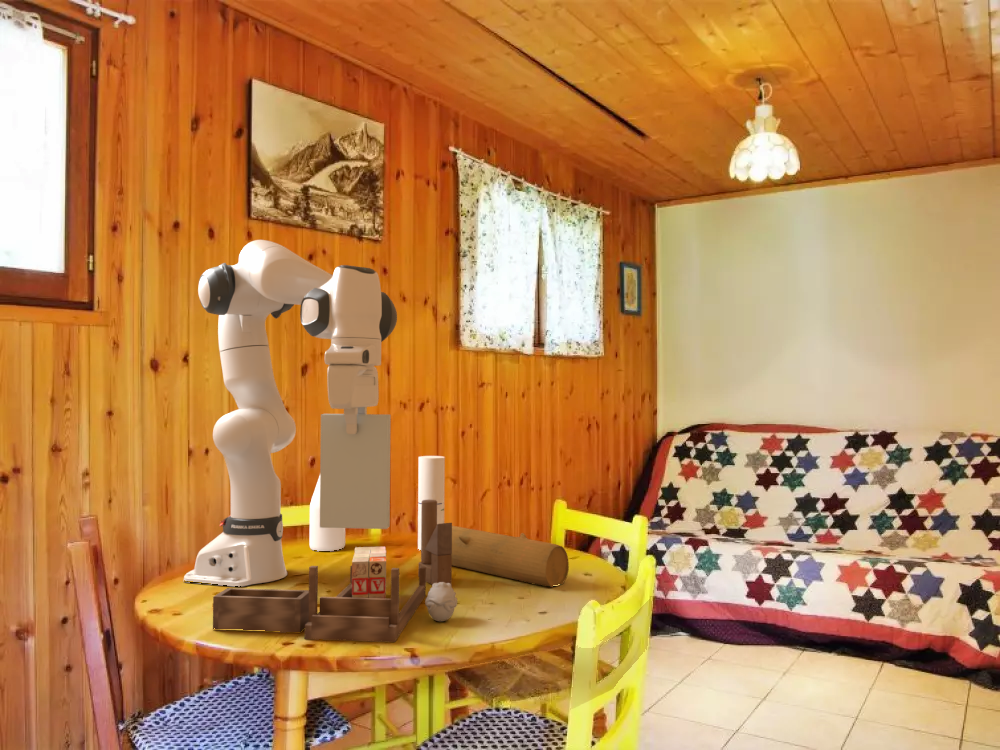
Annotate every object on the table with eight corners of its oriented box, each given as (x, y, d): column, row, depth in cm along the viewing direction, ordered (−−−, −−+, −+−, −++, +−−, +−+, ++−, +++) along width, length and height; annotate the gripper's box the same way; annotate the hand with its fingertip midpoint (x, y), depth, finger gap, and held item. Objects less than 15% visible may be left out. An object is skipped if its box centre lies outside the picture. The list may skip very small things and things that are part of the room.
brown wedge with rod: (437, 588, 168) (437, 506, 168) (417, 577, 177) (418, 499, 177) (452, 586, 169) (452, 505, 170) (432, 575, 179) (432, 498, 179)
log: (422, 564, 191) (422, 524, 192) (449, 558, 199) (449, 519, 199) (543, 592, 166) (543, 546, 166) (569, 583, 173) (569, 539, 173)
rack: (304, 639, 134) (305, 570, 134) (351, 593, 163) (352, 537, 163) (394, 642, 132) (395, 572, 132) (425, 595, 162) (426, 538, 162)
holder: (212, 630, 138) (213, 596, 138) (227, 620, 144) (227, 588, 144) (300, 632, 137) (300, 599, 137) (311, 622, 143) (311, 590, 143)
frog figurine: (458, 615, 148) (458, 578, 148) (455, 626, 141) (455, 588, 141) (427, 614, 148) (427, 578, 148) (422, 625, 141) (423, 588, 141)
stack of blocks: (356, 596, 162) (356, 537, 162) (386, 595, 162) (386, 537, 163) (351, 627, 140) (351, 560, 141) (385, 626, 141) (386, 559, 142)
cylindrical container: (412, 548, 209) (413, 456, 209) (433, 544, 214) (433, 455, 214) (428, 552, 204) (429, 458, 204) (449, 549, 208) (450, 457, 209)
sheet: (319, 527, 135) (320, 414, 135) (323, 525, 138) (325, 413, 138) (386, 528, 134) (387, 415, 134) (389, 526, 137) (390, 414, 137)
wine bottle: (349, 545, 212) (350, 437, 213) (338, 552, 203) (339, 439, 203) (316, 544, 213) (317, 437, 214) (304, 551, 204) (305, 439, 204)
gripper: (354, 357, 147) (353, 429, 147) (321, 353, 126) (320, 436, 126) (387, 357, 146) (386, 430, 146) (358, 353, 126) (357, 437, 126)
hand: (355, 433), depth 136 cm, fingers closed on sheet, 2 cm apart
